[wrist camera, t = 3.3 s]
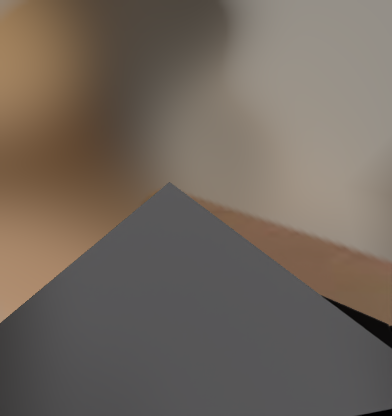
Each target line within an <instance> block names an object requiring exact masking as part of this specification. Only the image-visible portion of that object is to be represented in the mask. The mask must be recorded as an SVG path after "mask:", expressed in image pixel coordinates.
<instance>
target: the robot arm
mask: <svg viewBox="0 0 392 416" xmlns="http://www.w3.org/2000/svg"><path fill="white" fill-rule="evenodd" d="M321 296H322V295H321ZM322 297H323V298H325V299H326V300H327V301H329V302H330V303H331V304H333V305H334V306H335V307H337V308H338V309H339V310H341V311H342V312H343V313H345V314H346V315H347V316H349V317H350V318H351V319H353V320H354V321H355V322H357V323H358V324H359V325H361V326H362V327H363V328H365V329H366V330H367V331H369V332H370V333H371V334H373V335H374V336H375V337H377V338H378V339H379V340H381V341H382V342H383V343H385V344H386V345H387V346H389V347H390V348H391V349H392V326H389V325H388V324H387V323H385V322H382V321H380V320H378V319H375V318H373V317H371V316H368V315H366V314H364V313H361V312H359V311H357V310H354V309H352V308H350V307H347V306H345V305H343V304H340V303H338V302H336V301H333V300H331V299H329V298H326V297H324V296H322Z"/></svg>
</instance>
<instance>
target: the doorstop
mask: <svg viewBox="0 0 392 416" xmlns="http://www.w3.org/2000/svg"><path fill="white" fill-rule="evenodd" d="M0 416H392V349H391V348H390V347H389V346H387V345H386V344H385V343H383V342H382V341H381V340H379V339H378V338H377V337H375V336H374V335H373V334H371V333H370V332H369V331H367V330H366V329H365V328H363V327H362V326H361V325H359V324H358V323H357V322H355V321H354V320H353V319H351V318H350V317H349V316H347V315H346V314H345V313H343V312H342V311H341V310H339V309H338V308H337V307H335V306H334V305H333V304H331V303H330V302H329V301H327V300H326V299H325V298H323V297H322V296H321V295H319V294H318V293H317V292H315V291H314V290H313V289H311V288H310V287H309V286H307V285H306V284H305V283H303V282H302V281H301V280H299V279H298V278H297V277H295V276H294V275H293V274H291V273H290V272H289V271H287V270H286V269H285V268H283V267H282V266H281V265H279V264H278V263H277V262H275V261H274V260H273V259H272V258H270V257H269V256H268V255H266V254H265V253H264V252H262V251H261V250H260V249H258V248H257V247H256V246H254V245H253V244H252V243H250V242H249V241H248V240H246V239H245V238H244V237H242V236H241V235H240V234H238V233H237V232H236V231H234V230H233V229H232V228H230V227H229V226H228V225H226V224H225V223H224V222H222V221H221V220H220V219H218V218H217V217H216V216H214V215H213V214H212V213H210V212H209V211H208V210H206V209H205V208H204V207H202V206H201V205H200V204H198V203H197V202H196V201H194V200H193V199H192V198H190V197H189V196H188V195H186V194H185V193H184V192H182V191H181V190H180V189H178V188H177V187H175V186H174V185H173V184H172V183H170V182H169V183H168V184H167V185H165V186H164V187H163V188H162V189H161V190H159V191H158V192H157V193H156V194H155V195H153V196H152V197H151V198H150V199H149V200H147V201H146V202H145V203H144V204H143V205H141V206H140V207H139V208H138V209H137V210H135V211H134V212H133V213H132V214H131V215H130V216H128V217H127V218H126V219H125V220H123V221H122V222H121V223H120V224H119V225H117V226H116V227H115V228H114V229H113V230H111V231H110V232H109V233H108V234H107V235H106V236H104V237H103V238H102V239H101V240H100V241H98V242H97V243H96V244H95V245H94V246H92V247H91V248H90V249H89V250H87V252H85V253H84V254H83V255H81V256H80V257H79V258H78V259H77V260H76V261H74V262H73V263H72V264H71V265H70V266H69V267H67V268H66V269H65V270H64V271H62V272H61V273H60V274H59V275H58V276H56V277H55V278H54V279H53V280H52V281H50V282H49V283H48V284H47V285H45V286H44V287H43V288H42V289H41V290H40V291H38V292H37V293H36V294H35V295H33V296H32V297H31V298H30V299H29V300H27V301H26V302H25V303H24V304H23V305H21V306H20V307H19V308H18V309H17V310H15V311H14V312H13V313H12V314H11V315H10V316H8V317H7V318H6V319H5V320H4V321H2V322H1V323H0Z"/></svg>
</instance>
